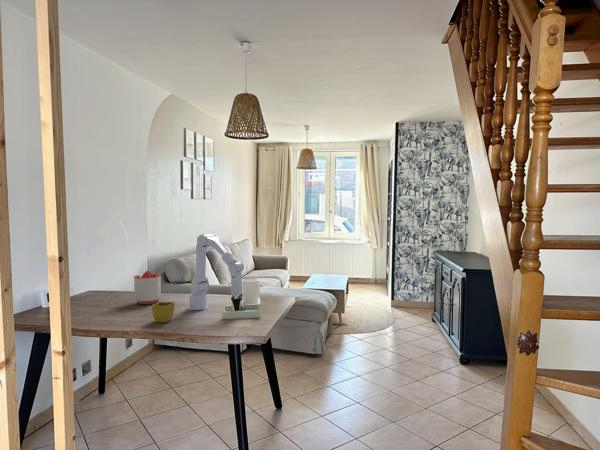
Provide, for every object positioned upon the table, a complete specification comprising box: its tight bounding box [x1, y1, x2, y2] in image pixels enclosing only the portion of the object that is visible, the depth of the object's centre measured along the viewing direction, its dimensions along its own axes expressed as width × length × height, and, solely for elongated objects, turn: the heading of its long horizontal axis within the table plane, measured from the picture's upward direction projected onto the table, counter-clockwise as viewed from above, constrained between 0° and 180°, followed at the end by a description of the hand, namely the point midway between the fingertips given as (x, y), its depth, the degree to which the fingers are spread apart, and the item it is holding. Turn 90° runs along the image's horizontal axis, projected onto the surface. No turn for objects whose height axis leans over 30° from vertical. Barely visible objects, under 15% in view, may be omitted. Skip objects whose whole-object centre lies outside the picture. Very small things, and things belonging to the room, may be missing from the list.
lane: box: [222, 297, 262, 320], centre depth 215 cm, size 20×15×7 cm
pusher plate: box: [242, 301, 246, 311], centre depth 215 cm, size 2×11×5 cm, turn 5°
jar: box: [242, 278, 261, 304], centre depth 236 cm, size 11×10×15 cm
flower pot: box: [151, 301, 175, 323], centre depth 204 cm, size 9×9×9 cm
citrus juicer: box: [133, 270, 162, 305], centre depth 245 cm, size 16×17×20 cm
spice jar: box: [231, 295, 243, 311], centre depth 214 cm, size 6×6×9 cm
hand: (237, 309), depth 214 cm, fingers closed on spice jar, 5 cm apart
